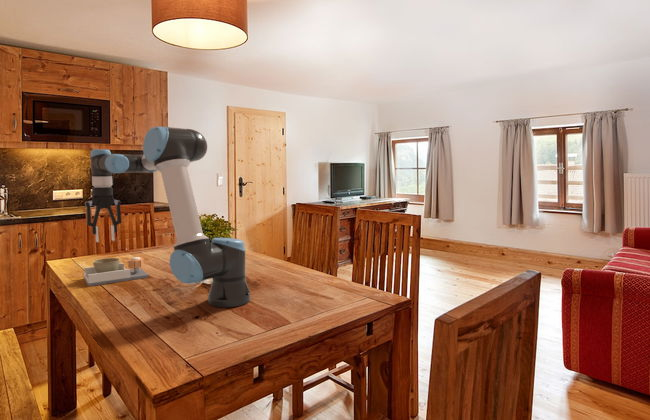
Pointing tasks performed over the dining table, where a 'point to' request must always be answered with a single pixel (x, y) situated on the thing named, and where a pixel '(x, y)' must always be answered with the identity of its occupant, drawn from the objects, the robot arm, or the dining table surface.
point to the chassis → (112, 275)
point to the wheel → (136, 262)
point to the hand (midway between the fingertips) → (105, 240)
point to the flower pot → (106, 265)
